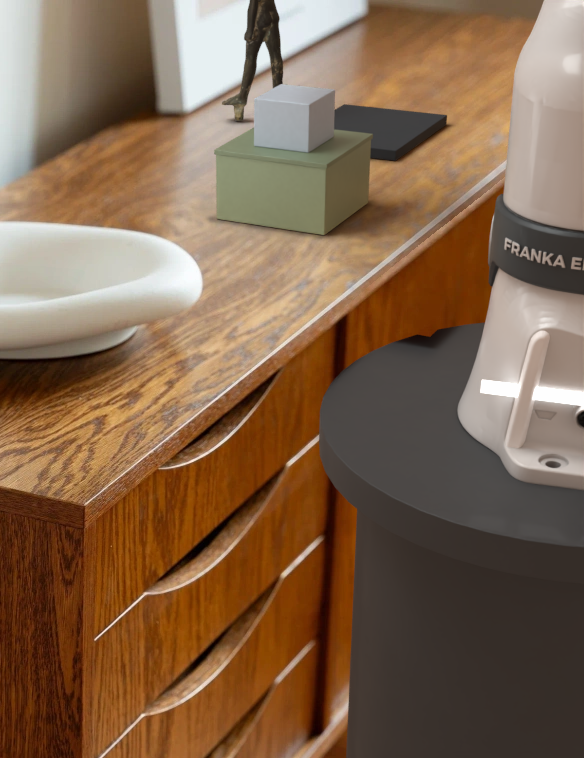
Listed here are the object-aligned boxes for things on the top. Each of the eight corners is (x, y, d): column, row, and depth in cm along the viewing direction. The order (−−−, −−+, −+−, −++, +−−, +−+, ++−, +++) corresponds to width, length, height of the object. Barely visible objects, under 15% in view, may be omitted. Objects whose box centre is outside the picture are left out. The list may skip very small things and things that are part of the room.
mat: (446, 124, 148) (447, 114, 147) (395, 161, 138) (396, 150, 138) (343, 113, 153) (343, 103, 153) (287, 147, 144) (287, 137, 143)
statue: (231, 111, 156) (231, -92, 146) (290, 115, 154) (293, -92, 144) (216, 124, 152) (215, -85, 142) (276, 128, 150) (279, -84, 140)
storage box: (370, 202, 129) (373, 133, 126) (325, 236, 122) (327, 164, 119) (263, 187, 134) (264, 121, 131) (214, 219, 127) (213, 149, 124)
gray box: (334, 137, 125) (335, 89, 123) (308, 153, 122) (309, 104, 120) (280, 130, 128) (280, 83, 126) (253, 146, 124) (253, 98, 122)
